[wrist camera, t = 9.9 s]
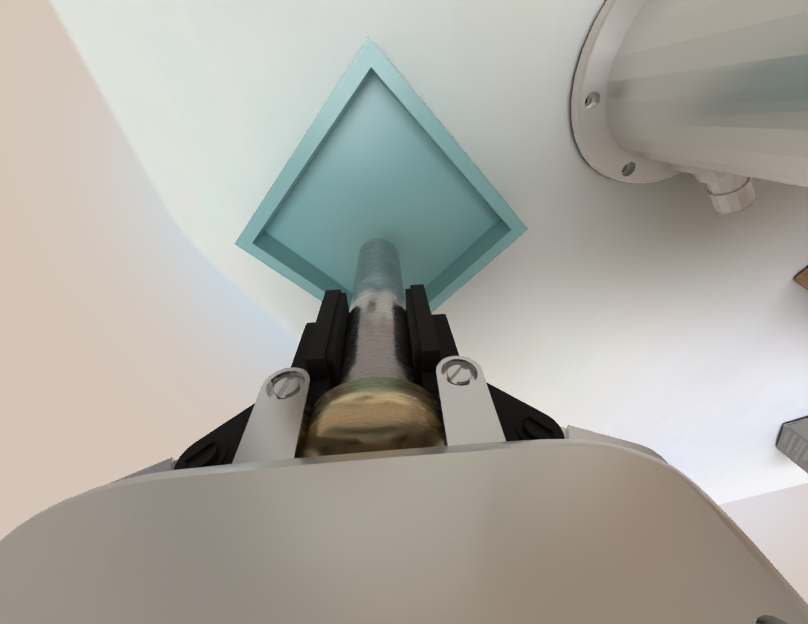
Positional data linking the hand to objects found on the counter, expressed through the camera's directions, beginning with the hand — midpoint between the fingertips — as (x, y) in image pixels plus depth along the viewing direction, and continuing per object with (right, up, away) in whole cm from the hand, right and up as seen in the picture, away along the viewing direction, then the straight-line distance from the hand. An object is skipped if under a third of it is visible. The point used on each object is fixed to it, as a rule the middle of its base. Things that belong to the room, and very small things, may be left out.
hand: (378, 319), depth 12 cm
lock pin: (0, +3, +5) cm, 6 cm away
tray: (-1, +7, +10) cm, 12 cm away
